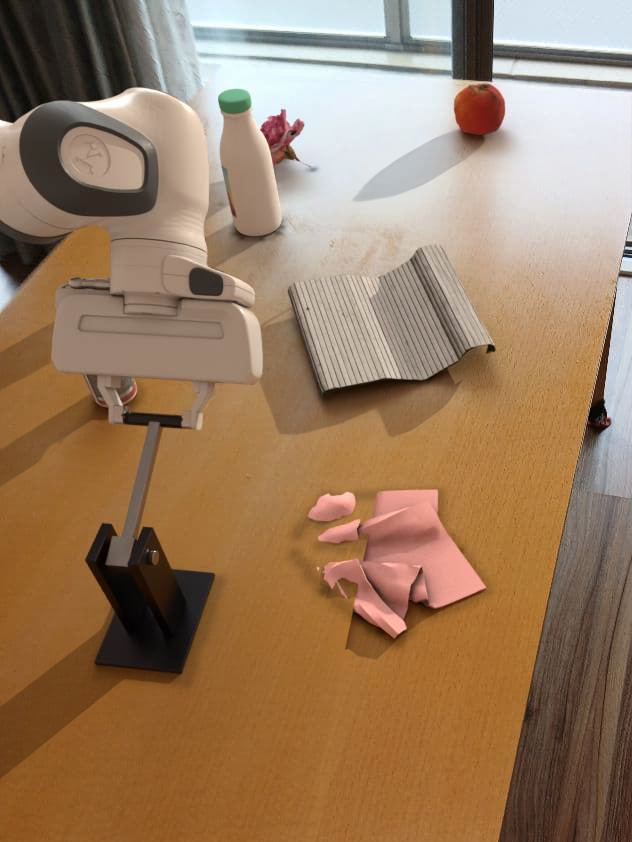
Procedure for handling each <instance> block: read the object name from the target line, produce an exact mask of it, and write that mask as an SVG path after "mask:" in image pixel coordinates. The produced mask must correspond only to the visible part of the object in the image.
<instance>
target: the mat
mask: <svg viewBox="0 0 632 842" xmlns="http://www.w3.org/2000/svg"><path fill="white" fill-rule="evenodd" d="M287 294H288V297H289V300H290V304H291V307H292V310H293V312H294V316H295V319H296V323H297V325H298V329H299V332H300V335H301V338H302V342H303V345H304V348H305V351H306V354H307V357H308V360H309V364H310V366H311V369H312V373H313V377H314V379H315V384H316V386H317V389H318V391H319V395H320V397H321V398H323V397H324V396H326V393H329V392H334V391H337V390H342V389H348V388H354V387H356V386H362V385H368V384H372V383H378V382H384V381H413V382H419V381H426V380H429V379H431V378H433V377H435V376H436V375H438V374H440V373H442V372H443V371H445V370H447V369H449V368H450V367H452V366H454V365H456V364H457V363H458V362H459V361H461V359H462V358H463V357H464V356H465V355H466V354H467V353H468V352H469V351H470V350H473V349H476V348H477V347H482V346H487V348H486V351H485V355H488V354H490V353H495V352H496V351H497V349H496V345H495V343H494V341H493V339H492V338H491V336H490V334H489V332H488V329H487V328H486V326H485V324H484V323H483V320H482V319H481V317H480V314H479V312H478V311H477V309H476V308H475V306H474V303H473V302H472V300H471V297H470V296H469V294H468V292H467V290H466V289H465V287H464V284H463V283H462V281H461V279H460V277H459V276H458V273H457V272H456V270H455V267H454V266H453V264H452V261H451V260H450V258H449V256H448V254H447V252H446V250H445V248H444V246H443V245H441V244H437V243H435V244H427V245H424V246H420V247H418V248H417V249H416V250H415V251H414V253H413V255H412V256H411V257H410V258H409V259H408V260H407V261H405V262H404V263H402V264H400V265H399V266H398V267H396V268H394V269H391V270H389V271H388V272H387V273H385V274H383V275H381V276H378V277H374V276H373V277H372V276H364V275H353V274H340V275H333V276H328V277H321V278H315V279H308V280H303V281H297V282H292V284H290V285H289V286H288V287H287Z"/></svg>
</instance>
